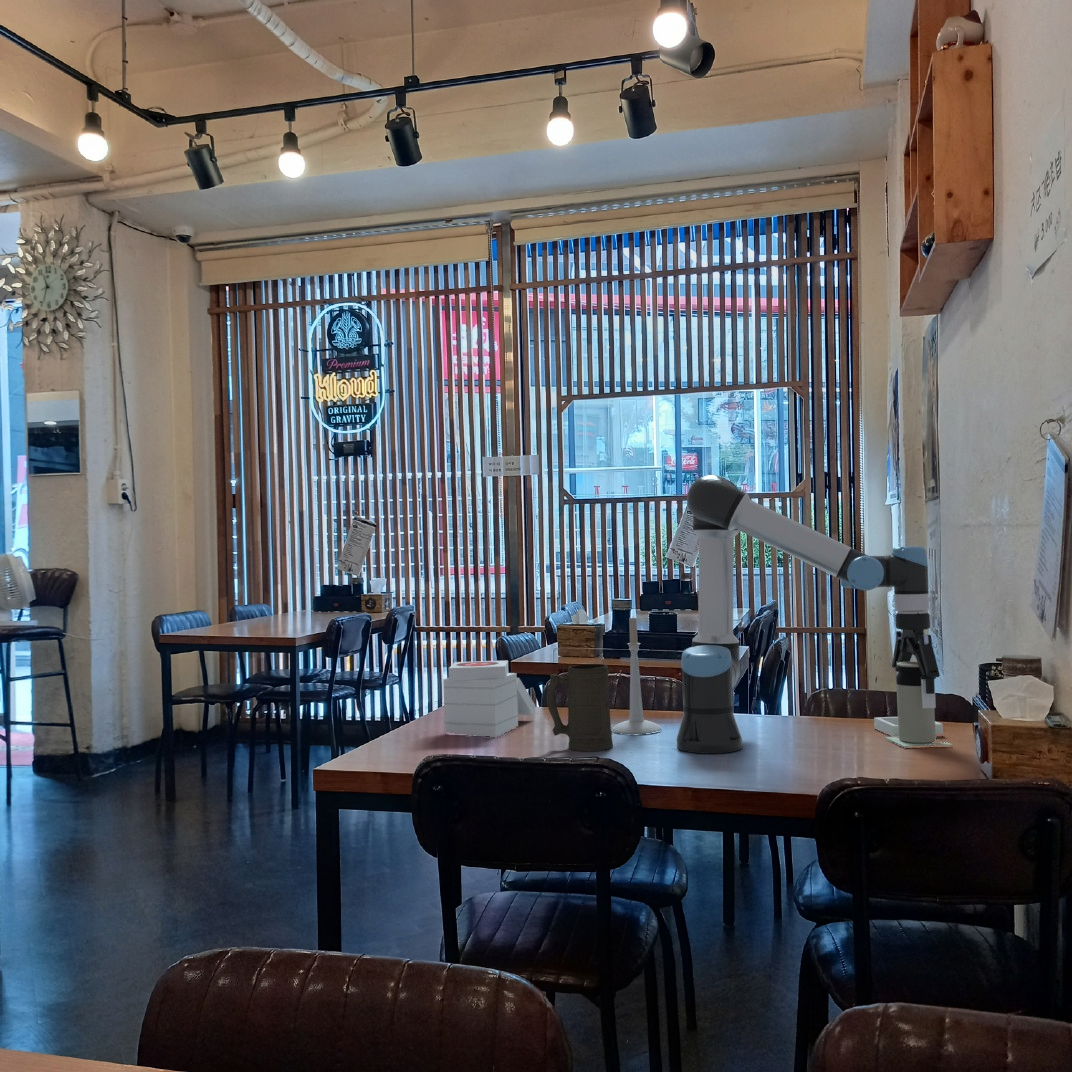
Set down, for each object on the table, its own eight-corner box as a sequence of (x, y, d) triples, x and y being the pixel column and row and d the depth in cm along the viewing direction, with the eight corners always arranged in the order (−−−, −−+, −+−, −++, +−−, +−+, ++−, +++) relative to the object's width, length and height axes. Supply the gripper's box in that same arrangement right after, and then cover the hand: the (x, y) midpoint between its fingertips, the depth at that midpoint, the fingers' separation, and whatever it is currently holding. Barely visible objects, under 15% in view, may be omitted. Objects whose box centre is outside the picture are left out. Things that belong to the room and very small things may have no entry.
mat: (904, 748, 209) (904, 746, 209) (885, 739, 220) (885, 737, 220) (952, 747, 209) (952, 744, 209) (930, 738, 220) (930, 735, 220)
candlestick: (660, 726, 248) (656, 614, 249) (662, 734, 235) (658, 617, 236) (612, 726, 249) (609, 615, 250) (611, 735, 236) (607, 618, 237)
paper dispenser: (542, 719, 264) (540, 656, 264) (499, 739, 236) (497, 668, 236) (481, 717, 271) (479, 655, 271) (432, 736, 243) (430, 667, 244)
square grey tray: (893, 738, 221) (893, 725, 221) (874, 729, 233) (874, 717, 233) (943, 736, 221) (942, 724, 222) (921, 727, 233) (921, 715, 234)
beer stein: (609, 741, 229) (601, 660, 229) (621, 749, 218) (612, 665, 218) (549, 749, 226) (541, 668, 226) (557, 758, 215) (549, 672, 216)
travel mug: (930, 745, 209) (927, 665, 210) (894, 742, 214) (891, 664, 215) (939, 739, 216) (936, 662, 216) (904, 736, 220) (901, 660, 221)
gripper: (953, 614, 203) (957, 711, 203) (905, 609, 228) (909, 695, 228) (919, 615, 203) (923, 712, 203) (875, 610, 228) (879, 696, 227)
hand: (916, 703), depth 215 cm, fingers open, 13 cm apart
